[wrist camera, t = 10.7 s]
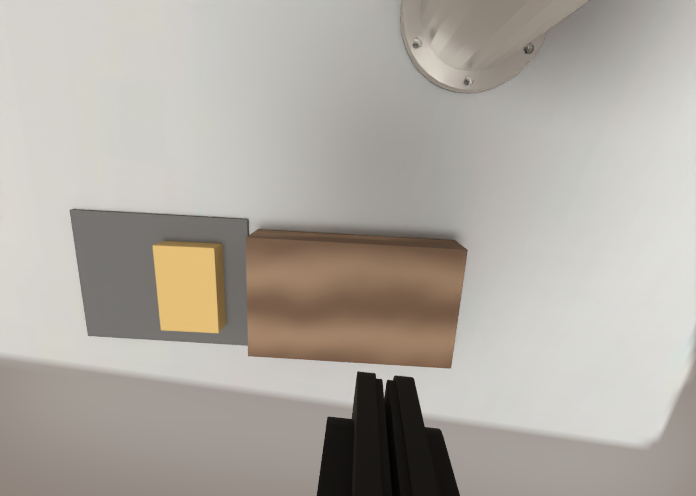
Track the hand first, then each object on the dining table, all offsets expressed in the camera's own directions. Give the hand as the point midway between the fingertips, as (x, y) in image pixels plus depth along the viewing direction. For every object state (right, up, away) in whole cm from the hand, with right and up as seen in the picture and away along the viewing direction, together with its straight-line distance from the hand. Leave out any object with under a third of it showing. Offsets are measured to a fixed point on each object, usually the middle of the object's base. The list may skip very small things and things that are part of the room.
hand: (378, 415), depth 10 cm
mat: (-20, +2, +26) cm, 33 cm away
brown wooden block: (0, +1, +26) cm, 25 cm away
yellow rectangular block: (-17, +1, +23) cm, 29 cm away
